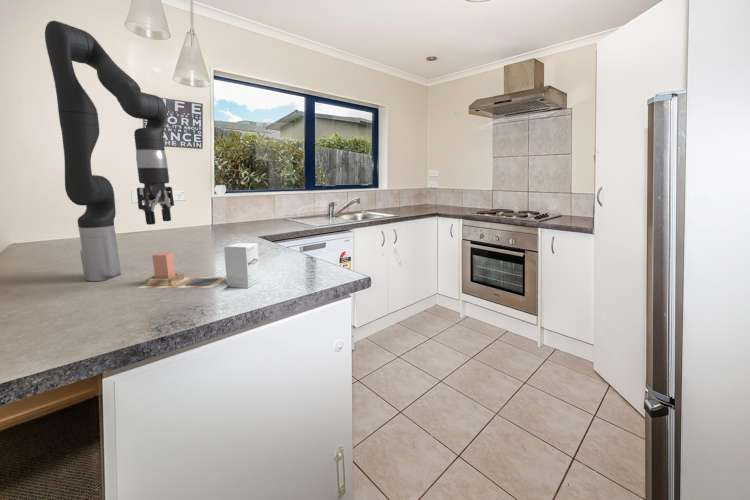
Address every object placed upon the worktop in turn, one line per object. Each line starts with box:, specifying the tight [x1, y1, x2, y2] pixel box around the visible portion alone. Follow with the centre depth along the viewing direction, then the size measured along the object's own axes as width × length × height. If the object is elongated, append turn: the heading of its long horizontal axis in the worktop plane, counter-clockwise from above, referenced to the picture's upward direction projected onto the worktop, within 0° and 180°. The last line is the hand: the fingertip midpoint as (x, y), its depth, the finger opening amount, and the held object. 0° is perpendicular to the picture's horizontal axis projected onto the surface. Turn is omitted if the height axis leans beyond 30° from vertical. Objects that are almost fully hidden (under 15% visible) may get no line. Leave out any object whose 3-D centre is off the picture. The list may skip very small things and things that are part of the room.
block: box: [151, 251, 176, 279], centre depth 110 cm, size 4×4×9 cm
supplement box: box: [223, 242, 261, 289], centre depth 111 cm, size 7×7×13 cm
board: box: [137, 272, 227, 289], centre depth 111 cm, size 22×11×3 cm, turn 92°
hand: (159, 222), depth 107 cm, fingers open, 8 cm apart
